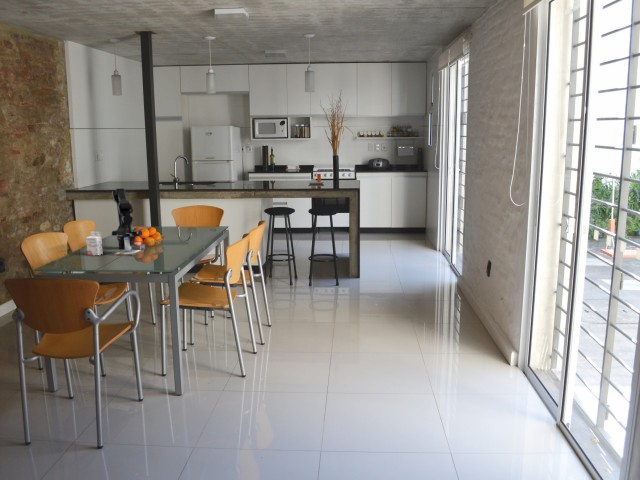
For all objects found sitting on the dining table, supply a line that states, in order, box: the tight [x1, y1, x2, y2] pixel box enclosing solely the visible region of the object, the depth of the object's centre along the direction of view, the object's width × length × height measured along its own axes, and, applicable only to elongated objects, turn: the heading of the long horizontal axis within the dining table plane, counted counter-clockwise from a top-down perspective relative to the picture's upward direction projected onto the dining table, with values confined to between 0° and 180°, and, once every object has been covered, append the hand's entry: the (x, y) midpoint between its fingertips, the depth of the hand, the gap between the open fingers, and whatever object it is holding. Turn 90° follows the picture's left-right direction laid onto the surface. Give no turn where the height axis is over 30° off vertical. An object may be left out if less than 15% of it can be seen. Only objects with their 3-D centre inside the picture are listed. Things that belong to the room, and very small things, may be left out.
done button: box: [133, 241, 142, 246], centre depth 397 cm, size 4×4×3 cm
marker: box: [124, 237, 132, 250], centre depth 386 cm, size 4×4×8 cm
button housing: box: [131, 244, 146, 251], centre depth 398 cm, size 6×6×3 cm
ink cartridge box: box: [85, 230, 104, 256], centre depth 385 cm, size 9×5×15 cm, turn 71°
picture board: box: [112, 249, 145, 257], centre depth 387 cm, size 14×14×1 cm
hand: (128, 246), depth 386 cm, fingers closed on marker, 4 cm apart
